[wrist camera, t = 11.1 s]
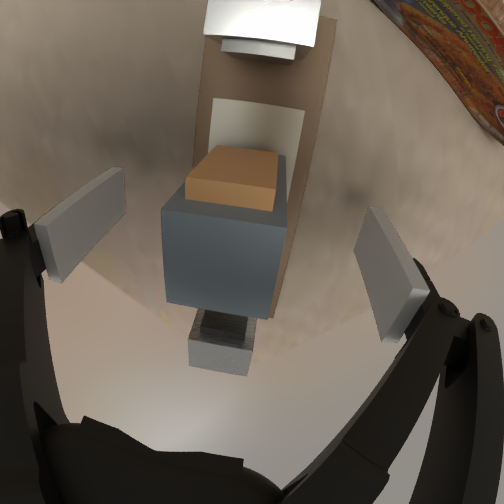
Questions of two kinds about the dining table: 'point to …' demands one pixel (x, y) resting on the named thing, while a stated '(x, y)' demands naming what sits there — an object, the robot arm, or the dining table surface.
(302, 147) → the brown flat board
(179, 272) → the block
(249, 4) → the near end finger
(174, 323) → the dining table surface
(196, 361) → the far end finger
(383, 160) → the dining table surface
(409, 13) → the tin
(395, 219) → the dining table surface
